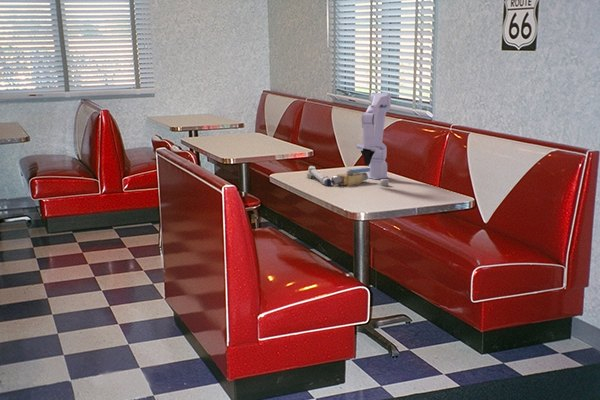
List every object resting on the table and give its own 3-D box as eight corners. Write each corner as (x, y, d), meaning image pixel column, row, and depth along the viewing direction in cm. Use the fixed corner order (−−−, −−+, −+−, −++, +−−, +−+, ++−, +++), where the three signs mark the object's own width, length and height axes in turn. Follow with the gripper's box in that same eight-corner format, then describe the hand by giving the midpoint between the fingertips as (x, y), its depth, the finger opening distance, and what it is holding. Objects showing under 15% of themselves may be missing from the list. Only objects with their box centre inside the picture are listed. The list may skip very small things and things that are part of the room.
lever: (345, 174, 368) (345, 169, 367) (366, 171, 376) (366, 167, 375) (349, 175, 365) (349, 170, 365) (370, 172, 373) (370, 168, 373)
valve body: (360, 180, 378) (360, 171, 377) (369, 182, 372) (369, 173, 371) (329, 184, 365) (329, 175, 364) (338, 187, 359) (338, 177, 358)
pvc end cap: (384, 184, 368) (384, 178, 367) (390, 185, 365) (390, 180, 364) (378, 185, 365) (378, 179, 365) (384, 186, 362) (384, 180, 362)
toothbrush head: (323, 178, 360) (305, 163, 382) (322, 191, 363) (304, 175, 384) (333, 178, 362) (314, 163, 384) (332, 191, 364) (313, 175, 386)
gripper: (352, 136, 366) (351, 163, 369) (372, 139, 355) (371, 167, 358) (362, 135, 370) (361, 161, 373) (383, 138, 359) (382, 166, 362)
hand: (367, 164), depth 366 cm, fingers closed
